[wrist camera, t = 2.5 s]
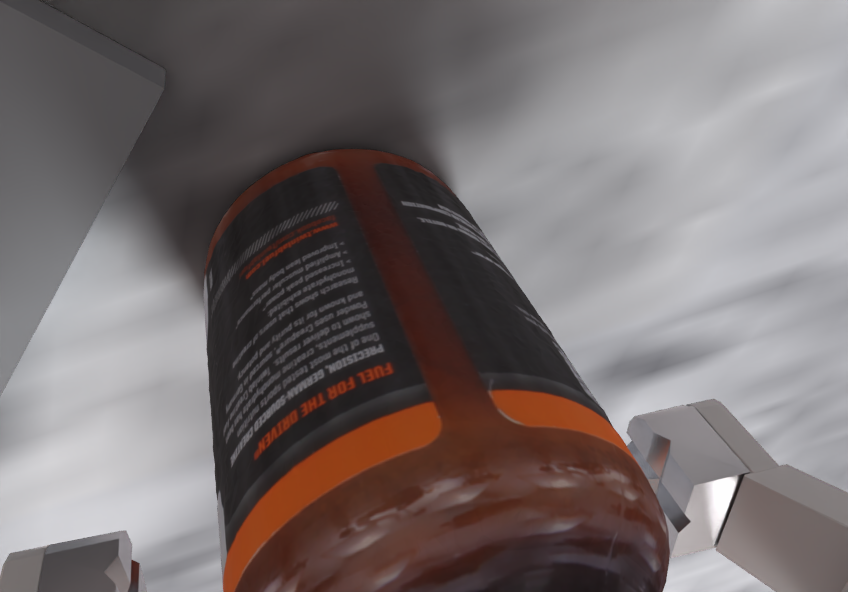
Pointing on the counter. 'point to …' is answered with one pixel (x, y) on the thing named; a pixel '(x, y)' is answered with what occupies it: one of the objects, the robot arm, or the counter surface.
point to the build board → (57, 151)
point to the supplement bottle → (402, 402)
